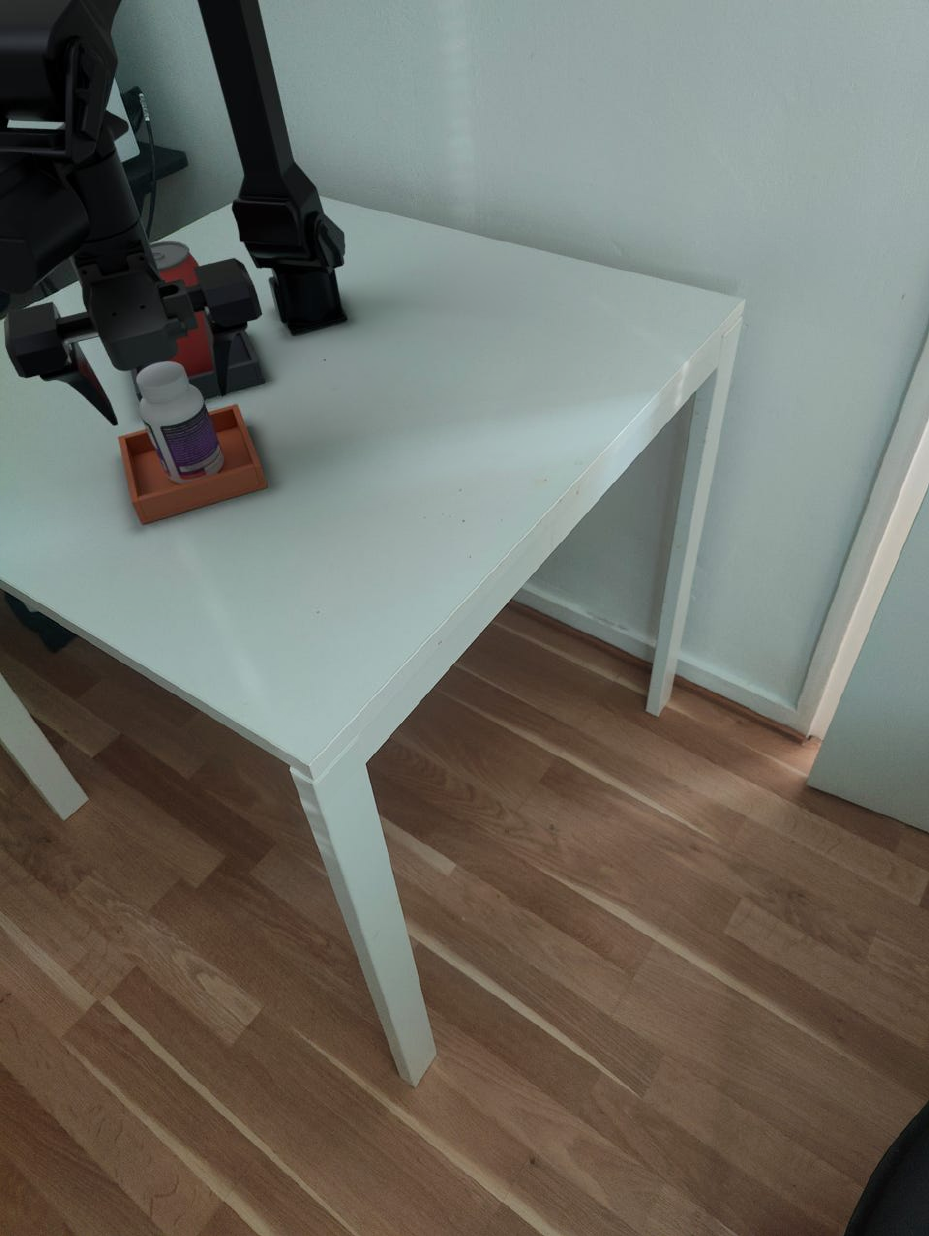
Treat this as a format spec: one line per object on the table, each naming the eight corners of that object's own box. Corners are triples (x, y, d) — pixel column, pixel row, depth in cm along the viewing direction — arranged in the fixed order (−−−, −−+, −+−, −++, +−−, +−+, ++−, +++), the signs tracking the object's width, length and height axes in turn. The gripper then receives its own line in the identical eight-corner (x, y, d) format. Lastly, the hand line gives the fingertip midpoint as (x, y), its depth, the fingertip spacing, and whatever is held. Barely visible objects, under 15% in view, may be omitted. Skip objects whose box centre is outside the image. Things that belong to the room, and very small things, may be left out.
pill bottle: (236, 453, 79) (205, 360, 72) (206, 490, 76) (170, 396, 69) (185, 445, 81) (150, 352, 74) (154, 481, 78) (113, 387, 70)
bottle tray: (244, 425, 83) (237, 403, 81) (268, 487, 77) (261, 464, 75) (127, 458, 81) (117, 436, 79) (141, 524, 74) (131, 502, 73)
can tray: (244, 335, 94) (238, 314, 92) (265, 382, 88) (258, 360, 86) (132, 364, 92) (123, 343, 90) (145, 415, 85) (136, 393, 84)
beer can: (170, 352, 92) (130, 241, 83) (232, 346, 92) (198, 234, 83) (160, 387, 88) (117, 274, 79) (225, 381, 88) (189, 267, 79)
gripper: (-37, 306, 55) (65, 495, 66) (250, 238, 58) (299, 429, 70) (-37, 236, 62) (55, 418, 73) (219, 180, 66) (268, 361, 77)
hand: (170, 408), depth 73 cm, fingers open, 9 cm apart
